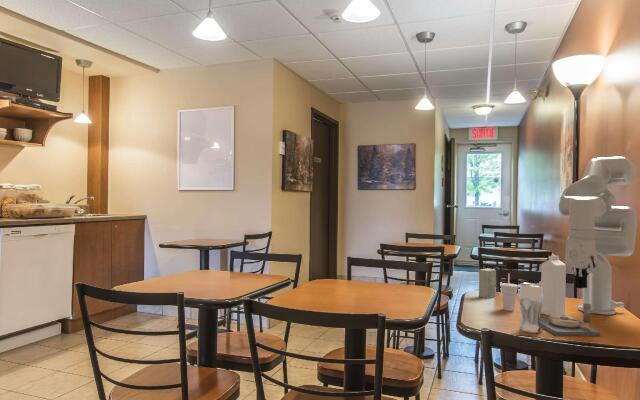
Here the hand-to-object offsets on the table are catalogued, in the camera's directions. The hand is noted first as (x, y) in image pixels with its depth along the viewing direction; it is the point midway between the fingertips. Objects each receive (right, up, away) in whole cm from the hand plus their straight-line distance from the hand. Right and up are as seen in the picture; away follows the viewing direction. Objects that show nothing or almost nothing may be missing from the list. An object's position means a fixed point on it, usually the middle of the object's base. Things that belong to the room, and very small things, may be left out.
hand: (581, 287), depth 154 cm
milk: (-2, -13, +15) cm, 20 cm away
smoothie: (-16, -13, +21) cm, 29 cm away
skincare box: (-16, -13, +44) cm, 48 cm away
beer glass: (-21, -13, -7) cm, 25 cm away
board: (-8, -13, -4) cm, 16 cm away
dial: (-7, -11, -4) cm, 14 cm away
